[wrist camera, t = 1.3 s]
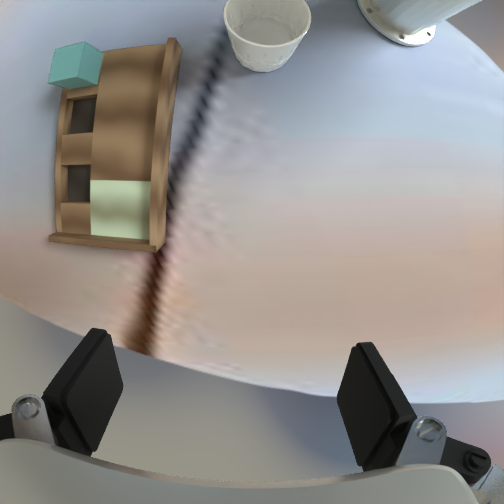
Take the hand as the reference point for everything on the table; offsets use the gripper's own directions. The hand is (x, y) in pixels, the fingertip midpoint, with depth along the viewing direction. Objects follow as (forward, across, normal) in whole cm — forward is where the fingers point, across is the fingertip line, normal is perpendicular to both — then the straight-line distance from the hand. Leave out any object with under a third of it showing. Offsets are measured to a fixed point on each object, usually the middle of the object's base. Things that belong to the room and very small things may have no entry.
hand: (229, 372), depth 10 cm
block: (+24, +21, -20) cm, 38 cm away
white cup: (+26, -1, -22) cm, 34 cm away
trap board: (+26, +17, -10) cm, 33 cm away
